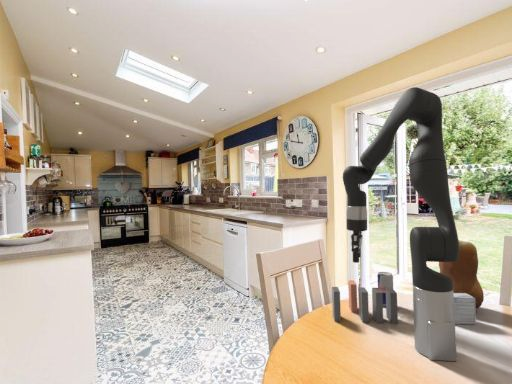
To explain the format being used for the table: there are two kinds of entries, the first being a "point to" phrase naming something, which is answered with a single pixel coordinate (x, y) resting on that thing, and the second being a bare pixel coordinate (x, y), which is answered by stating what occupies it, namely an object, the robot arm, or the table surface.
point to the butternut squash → (465, 272)
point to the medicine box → (464, 309)
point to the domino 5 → (391, 306)
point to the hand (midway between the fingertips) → (356, 259)
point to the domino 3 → (363, 305)
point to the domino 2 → (352, 295)
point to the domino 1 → (336, 304)
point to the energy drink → (384, 283)
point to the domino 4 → (377, 305)
